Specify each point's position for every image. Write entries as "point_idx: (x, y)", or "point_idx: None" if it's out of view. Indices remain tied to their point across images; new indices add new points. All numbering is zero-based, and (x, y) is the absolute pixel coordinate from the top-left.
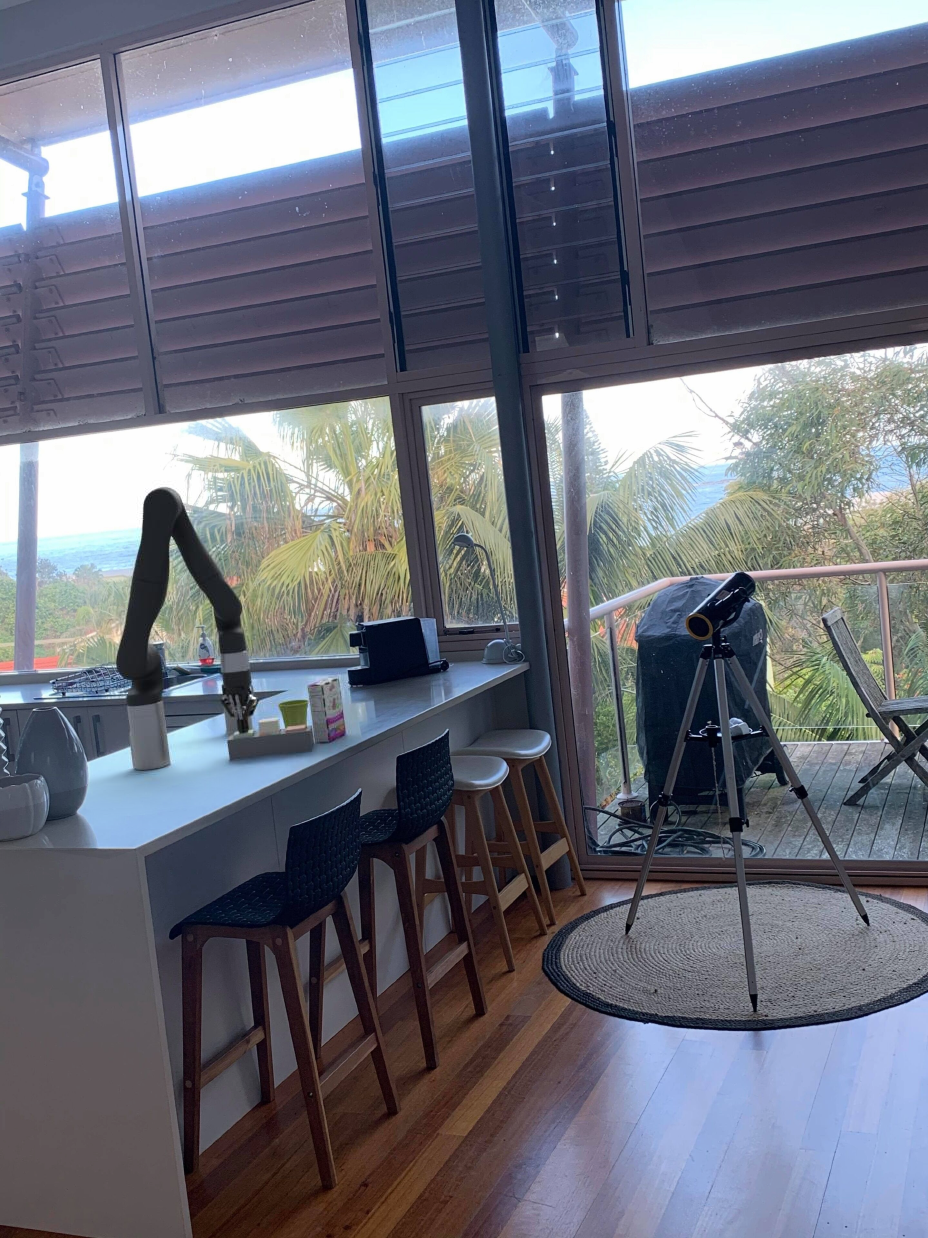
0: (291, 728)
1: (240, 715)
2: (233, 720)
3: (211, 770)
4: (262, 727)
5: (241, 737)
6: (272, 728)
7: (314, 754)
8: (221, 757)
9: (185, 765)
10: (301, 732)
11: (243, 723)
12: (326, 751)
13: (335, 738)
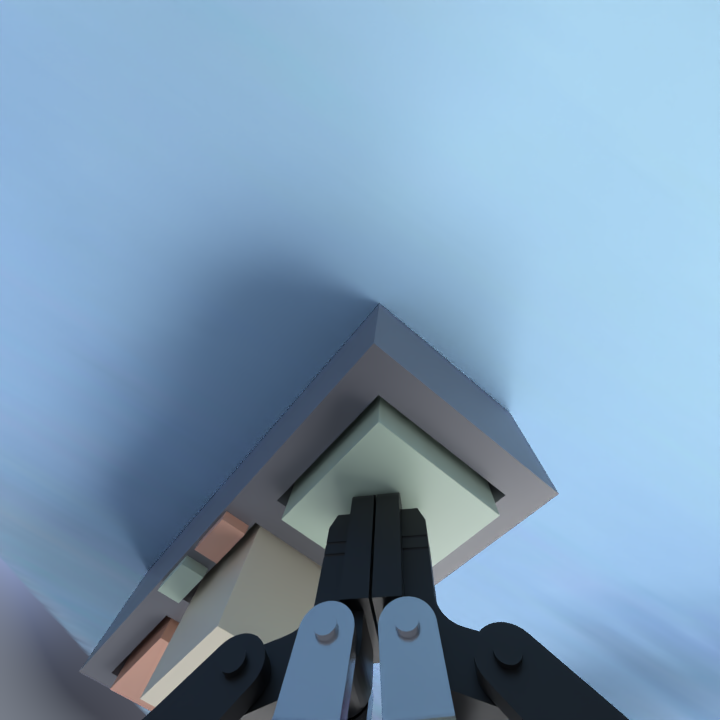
0: None
1: (321, 657)
2: None
3: (227, 52)
4: (222, 597)
5: (336, 450)
6: (191, 617)
7: (70, 534)
8: (536, 345)
9: (630, 58)
10: (102, 644)
11: (329, 574)
12: (82, 579)
13: None
